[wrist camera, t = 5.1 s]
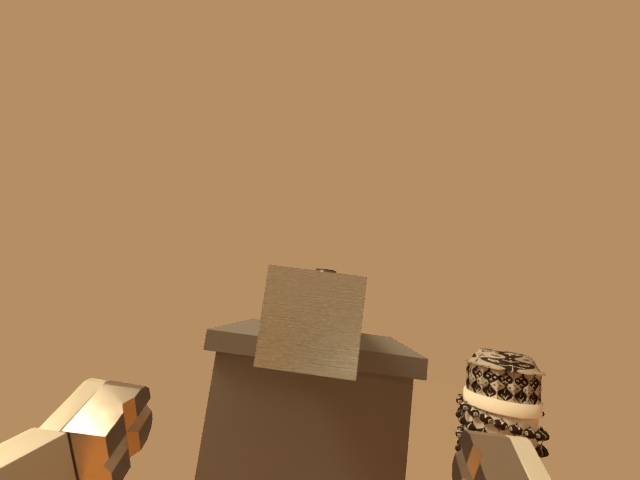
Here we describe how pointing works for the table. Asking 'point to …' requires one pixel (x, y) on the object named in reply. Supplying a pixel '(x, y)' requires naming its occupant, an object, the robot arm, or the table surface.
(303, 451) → the pedestal
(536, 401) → the decorative candle
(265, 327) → the brown wooden bar
